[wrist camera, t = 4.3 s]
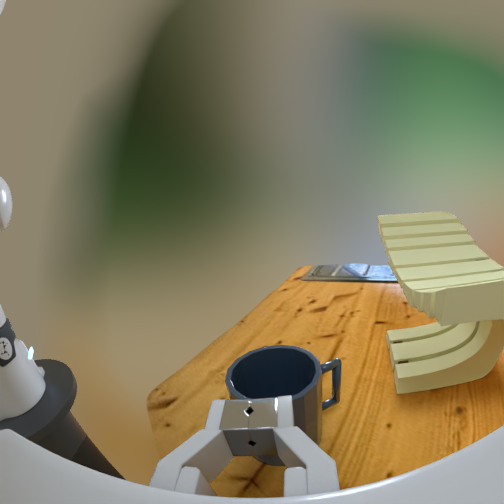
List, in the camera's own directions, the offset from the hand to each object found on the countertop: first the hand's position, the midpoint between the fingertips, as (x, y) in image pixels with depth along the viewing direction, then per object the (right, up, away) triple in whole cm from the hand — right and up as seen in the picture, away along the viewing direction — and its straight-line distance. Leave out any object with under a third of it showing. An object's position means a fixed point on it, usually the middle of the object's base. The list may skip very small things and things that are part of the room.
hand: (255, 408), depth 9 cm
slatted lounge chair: (+27, -9, +20) cm, 35 cm away
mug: (+5, -13, +15) cm, 21 cm away
